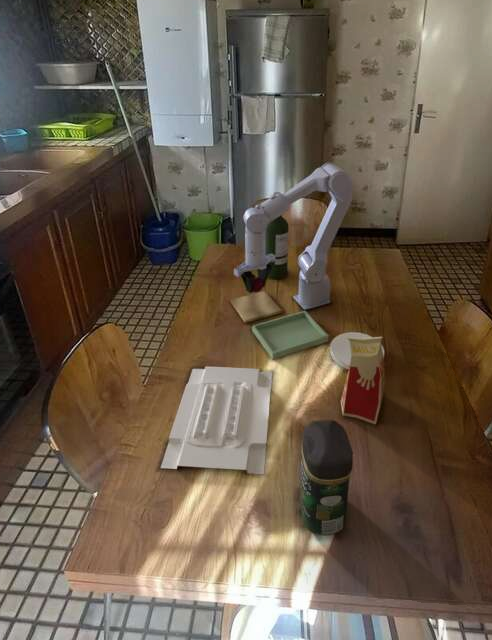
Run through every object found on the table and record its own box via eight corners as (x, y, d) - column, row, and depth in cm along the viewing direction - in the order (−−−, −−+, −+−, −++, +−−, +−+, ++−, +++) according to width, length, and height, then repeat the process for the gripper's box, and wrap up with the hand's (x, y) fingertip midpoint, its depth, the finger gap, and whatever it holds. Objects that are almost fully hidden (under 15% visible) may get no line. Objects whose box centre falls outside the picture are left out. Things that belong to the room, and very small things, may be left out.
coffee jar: (295, 486, 82) (298, 415, 74) (336, 482, 83) (344, 411, 75) (304, 540, 73) (309, 466, 65) (349, 535, 74) (360, 461, 66)
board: (264, 293, 142) (264, 290, 142) (281, 312, 132) (281, 310, 132) (230, 302, 137) (230, 299, 137) (245, 323, 128) (245, 320, 127)
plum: (261, 286, 135) (261, 273, 133) (264, 294, 131) (264, 281, 129) (246, 288, 134) (246, 275, 132) (249, 296, 130) (249, 282, 128)
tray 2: (304, 316, 131) (305, 310, 130) (328, 341, 121) (328, 335, 120) (252, 331, 124) (252, 325, 123) (272, 359, 114) (272, 353, 113)
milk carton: (382, 395, 103) (393, 326, 94) (377, 425, 95) (389, 353, 86) (344, 385, 106) (351, 318, 97) (336, 414, 98) (343, 343, 89)
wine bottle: (282, 281, 149) (284, 199, 136) (261, 276, 152) (261, 195, 139) (290, 270, 156) (292, 191, 143) (269, 266, 158) (270, 188, 145)
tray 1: (160, 468, 85) (158, 455, 83) (192, 371, 111) (191, 360, 109) (264, 474, 84) (264, 460, 83) (272, 375, 110) (272, 363, 108)
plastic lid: (384, 344, 120) (385, 337, 119) (381, 379, 108) (383, 372, 106) (333, 335, 123) (334, 328, 122) (325, 369, 111) (326, 361, 110)
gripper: (244, 261, 119) (245, 303, 125) (282, 245, 128) (281, 285, 134) (228, 252, 123) (230, 293, 129) (266, 238, 132) (266, 276, 138)
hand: (255, 288), depth 132 cm, fingers closed on plum, 4 cm apart
